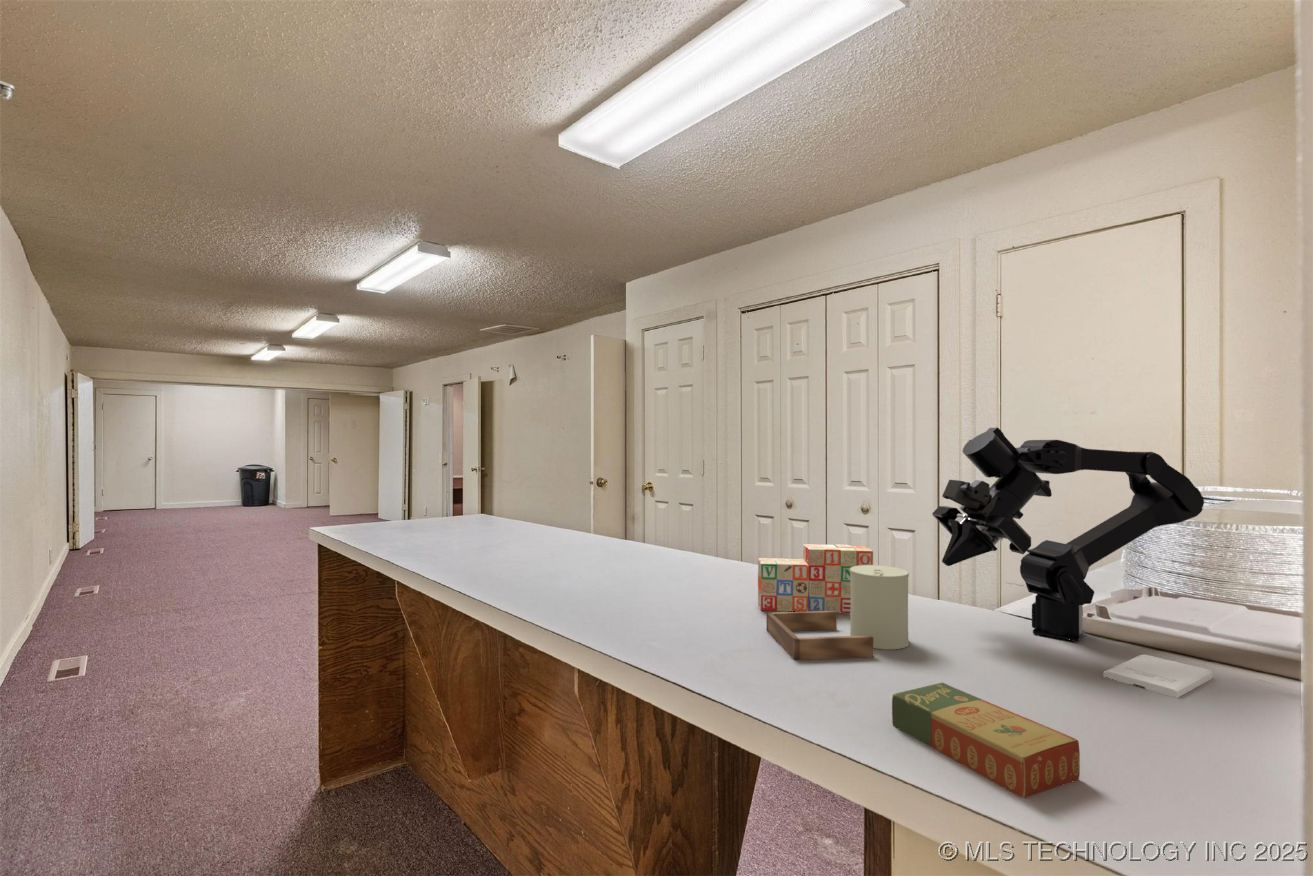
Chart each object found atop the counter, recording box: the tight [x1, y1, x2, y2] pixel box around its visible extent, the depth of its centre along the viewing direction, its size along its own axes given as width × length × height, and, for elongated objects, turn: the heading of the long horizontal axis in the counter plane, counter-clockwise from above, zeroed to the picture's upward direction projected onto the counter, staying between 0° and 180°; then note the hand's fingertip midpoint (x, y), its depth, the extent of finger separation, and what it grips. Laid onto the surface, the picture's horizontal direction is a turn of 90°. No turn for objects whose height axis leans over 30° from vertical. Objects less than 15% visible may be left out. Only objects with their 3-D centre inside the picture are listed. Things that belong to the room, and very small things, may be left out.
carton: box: [891, 681, 1081, 799], centre depth 64 cm, size 8×16×4 cm, turn 24°
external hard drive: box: [1103, 654, 1213, 699], centre depth 84 cm, size 2×8×12 cm
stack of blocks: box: [757, 543, 874, 614], centre depth 119 cm, size 21×6×12 cm, turn 85°
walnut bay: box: [766, 611, 874, 661], centre depth 98 cm, size 12×15×3 cm
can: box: [849, 564, 910, 651], centre depth 99 cm, size 9×9×12 cm
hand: (944, 563), depth 101 cm, fingers closed
